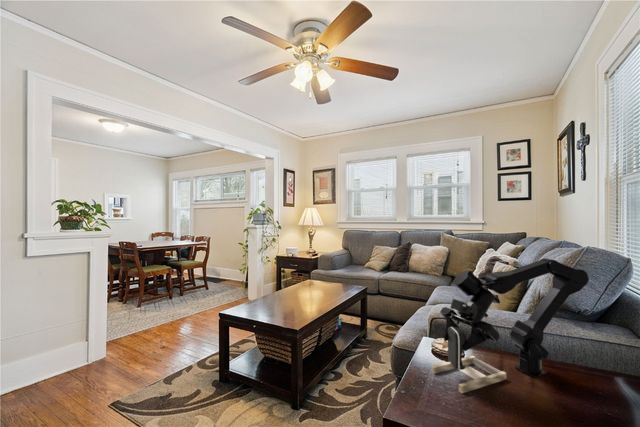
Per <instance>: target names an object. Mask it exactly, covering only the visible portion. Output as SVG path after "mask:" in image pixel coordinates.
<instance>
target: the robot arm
mask: <svg viewBox="0 0 640 427" xmlns="http://www.w3.org/2000/svg"><path fill="white" fill-rule="evenodd" d="M547 274H550V275H551V276H552V275H553V276H552V287H551V288H549V291H548V292H547V293H546V294H545V295H544V297H543V299H542V300H541V301H540V303H539V304H538V305H537V306H536V308H535V309H534V310H533V312H532V313H531V314H530V316H529V318H528V319H526V320H523V321H521V320H519V319H517V320H516V321H515V323H514V325H513V326H512V327H511V328H510V330H511V331H510V333H509V336H510V341H511V342H512V343H513V344H514V347H515V348H517V349H518V350H520V351H519V358H518V359H519V360H518V365H515V366H514V368H515V369H516V370H518V371H520V372H522V373H524V374H526V375H528V376H530V377H532V378H537V377H540V376H544V375H547V371H546V370H544V369H542V366H543V365H542V362H543V360H544V359H545V360H546V359H548V357H549V354H550V352H549V351H548V350H547V349H546V348H545V347H544V346H543V345H542V343H543V342H544V332H545V331H544V330H545V329H546V327H548V325H549V324H550V322H551V321H552V319H553V318H554V317H555V316H556V314H557V312H559V310H560V309H561V307H562V306H563V305H564V303H565V302H566V301H567V299H568V298H569V297H570V296H571V295H573V294H576V293H578V292H580V291H582V290H583V288H584V287H586V286H587V285H588V283H589V281H590V278H589V275H588V273H587V272H586V270H584V269H580V268H577V267H572V266H568V265H566V264H563V263H561V262H559V261H558V260H556V259H551V258H546V257H543V258H541V259H539V260H537V261H534V262H532V263H528V264H526V265H522V266H519V267H517V268H514V269H511V270H506V271H505V270H504V271H496V272H489V273H486V275H484V276H480V277H477V276H476V275H475V274H474V273H473V271H471V270H469V269H466V270H465V271H463V272H460V273H459V274H457V275H456V276H455V277H454V280H453V282H452V283H453V285H454V286H455V287H457V288H458V290H460V291H461V292H462V293H463V294H465V295H466V296H468V297H471V298H470V300H465V301H461V300H458V299H455V298H452V301H451V305H450V308H449V307H447V306H445V307H441V310H440V312H439V313H440V314H441V315H442V316H443V318H444V319H445V322H446V324H445V325H446V326H445V329H444V337H443V340H444V341H445V342H448V328H449V327H458V328H459V329H460V326H458V324H463V325H465V326H467V327H470V328H471V331H470V335H469V336H468V337H467V341H466V343H465V344H464V347H463V352H464V351H465V352H466V351H468V350H470V349H472V348H473V347H475V346H477V345H480V344H482V343H486V342H490V341H492V342H495V343H497V342H498V341H499V339H500V332H499V331H498V330H497V329H496V328H495V327H494V325H493V324H492V323H489V322H486V321H483V319H484V318H485V319H486V318H488V316H489V314H487V312H488V311H489V309H490V308H491V306H492V304H493V303H494V304H501V301H500V298H499V295H505V294H507V293H509V292H511V291H513V290H514V289H515V288H516V287H517V285H519V284H522V283H524V282H527V281H530V280H532V279H536V278H539V277H541V276H544V275H547ZM485 288H486V289H485ZM492 292H495V293H497V294H494V293H492ZM498 294H499V295H498ZM455 310H456V311H455Z"/></svg>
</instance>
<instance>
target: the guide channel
mask: <svg viewBox="0 0 640 427" xmlns="http://www.w3.org/2000/svg"><path fill="white" fill-rule="evenodd" d="M462 363H463V365H464V366H465V369H463V370H458V371H460V372H461V373H463V374H464V375H466V376H468V377H470V378H471V379H472V380H468V381H465V382H462V383H459V384H458V392H459V393H461V394H464V393H467V392H471V391H474V390H477V389H481V388H483V387H487V386H490V385H493V384H496V383H499V382H503V381H506V380H507V372H505V371H504V370H503V371H502V370H499V369H498V368H496V367H495V366H493V365H490V364H488V363H486V362H484V361H482V360H480V359H479V358H476V356H475V355H470V356H465V357H462ZM470 365H474V366H475V367H477V368H479V369H481V370H483V371H484V372H486V373H488V374H490V375H485V374H484V373H482V372H481V371H479V370H476V369H475V368H473V367H471V366H470ZM430 369H431V370H430V372H431V374H433V375H436V374H439V373H442V372H443V373H444V372H446V371H450V370H454V369H455V367H454V366H453V365H452V364H451V362H450V361H447V362H443V363H439V364H434V365H431V366H430Z"/></svg>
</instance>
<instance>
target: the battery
mask: <svg viewBox="0 0 640 427" xmlns="http://www.w3.org/2000/svg"><path fill="white" fill-rule="evenodd" d="M458 327H459V326H458ZM458 327H449V328H448V340H447V360H448V362H451V364H452V365H453V366H454V367H455V368H454V369H455V370H458V371H459V370H463V369H465V366H464V365H463V363H462V358H463V357H462V356H463V353H464V350H463V347H464V344H465V343H466V341H467V339H468V337H467V335H466V333H465V332H464V331H463V330H462V329H461V328H460V327H459V328H458Z"/></svg>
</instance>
